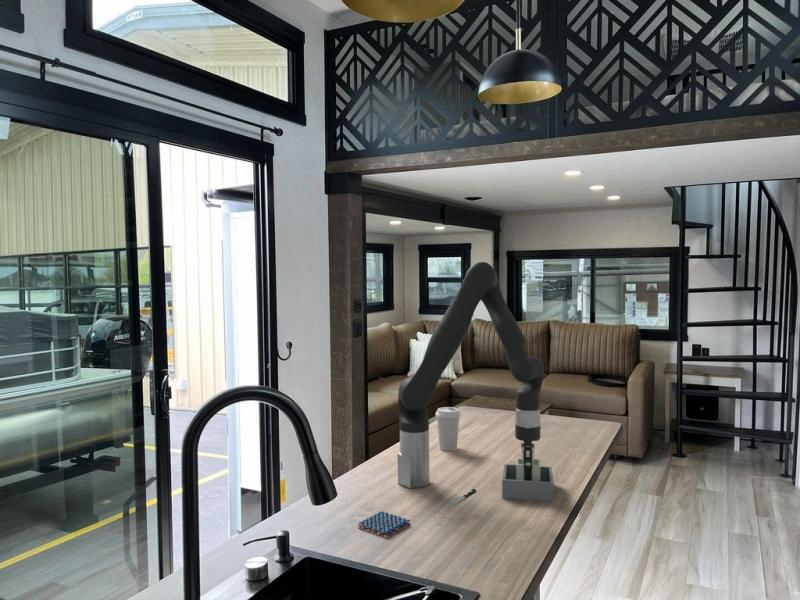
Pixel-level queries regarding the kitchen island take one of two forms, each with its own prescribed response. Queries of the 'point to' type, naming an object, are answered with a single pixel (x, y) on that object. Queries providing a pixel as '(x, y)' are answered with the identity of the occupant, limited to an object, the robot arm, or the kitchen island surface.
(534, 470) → the sage crate
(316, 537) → the kitchen island surface
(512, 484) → the charcoal crate
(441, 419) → the coffee cup
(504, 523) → the kitchen island surface
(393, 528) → the woven mat
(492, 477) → the kitchen island surface
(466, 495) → the chef's knife
